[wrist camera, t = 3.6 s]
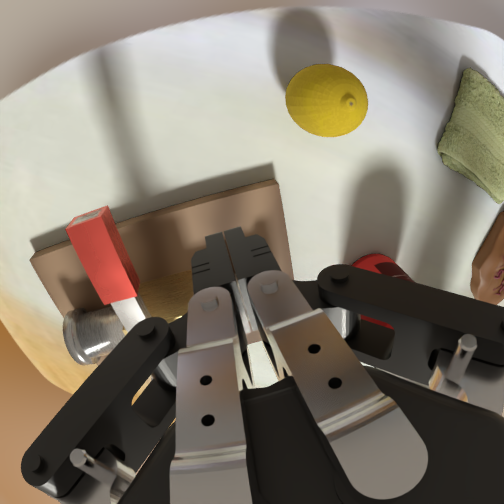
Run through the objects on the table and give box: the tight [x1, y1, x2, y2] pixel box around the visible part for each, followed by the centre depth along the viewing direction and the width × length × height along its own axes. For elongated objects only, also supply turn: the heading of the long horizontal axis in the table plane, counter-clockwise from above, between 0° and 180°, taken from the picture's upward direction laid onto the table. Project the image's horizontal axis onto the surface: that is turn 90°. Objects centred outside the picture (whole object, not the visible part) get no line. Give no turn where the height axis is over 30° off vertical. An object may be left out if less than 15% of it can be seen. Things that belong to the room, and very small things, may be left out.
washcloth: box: [438, 68, 504, 204], centre depth 27 cm, size 13×18×3 cm
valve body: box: [63, 269, 250, 365], centre depth 25 cm, size 20×6×9 cm, turn 101°
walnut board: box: [30, 179, 294, 366], centre depth 29 cm, size 24×17×2 cm
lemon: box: [285, 64, 368, 137], centre depth 20 cm, size 6×6×8 cm
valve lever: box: [65, 205, 153, 380], centre depth 18 cm, size 14×3×2 cm, turn 11°
